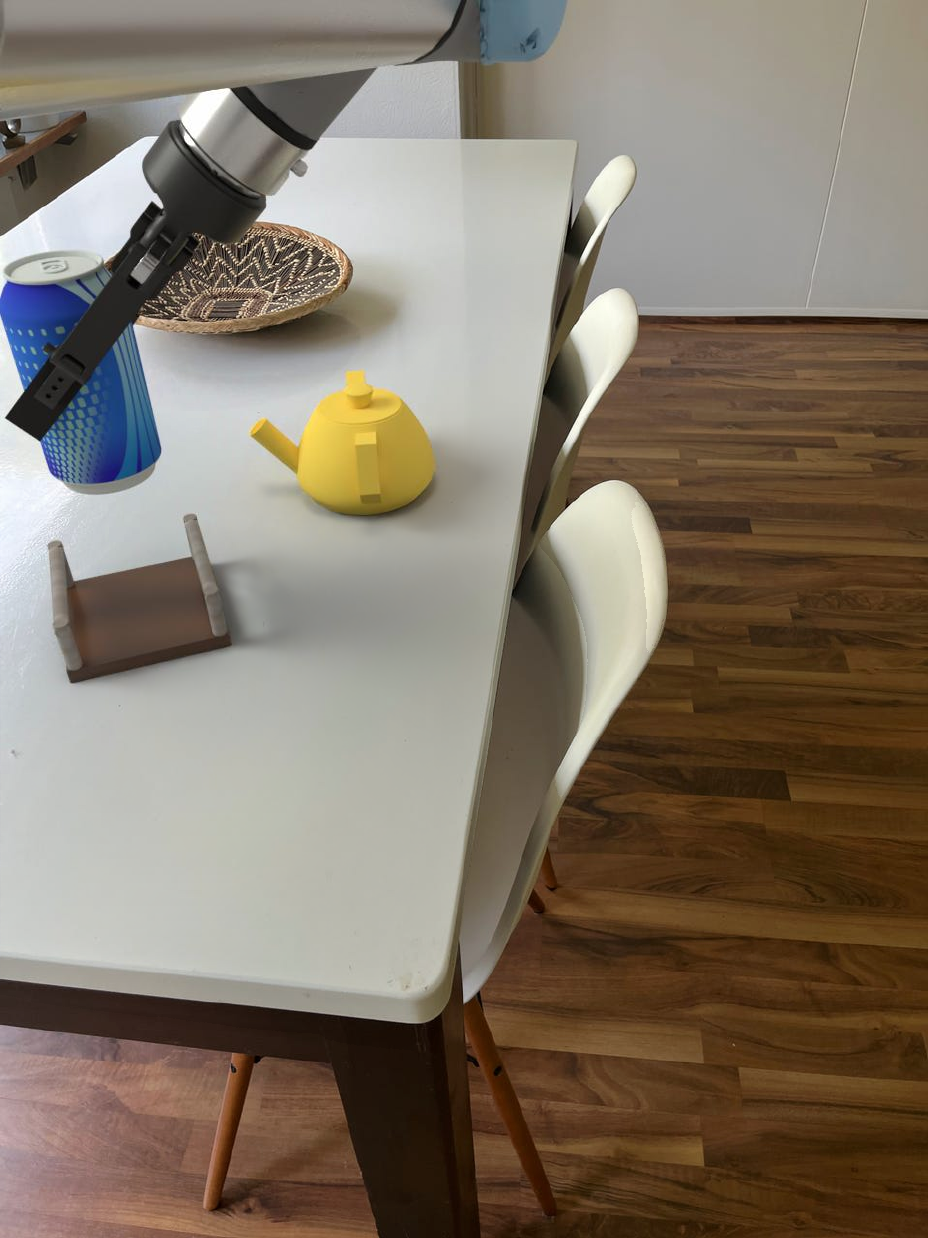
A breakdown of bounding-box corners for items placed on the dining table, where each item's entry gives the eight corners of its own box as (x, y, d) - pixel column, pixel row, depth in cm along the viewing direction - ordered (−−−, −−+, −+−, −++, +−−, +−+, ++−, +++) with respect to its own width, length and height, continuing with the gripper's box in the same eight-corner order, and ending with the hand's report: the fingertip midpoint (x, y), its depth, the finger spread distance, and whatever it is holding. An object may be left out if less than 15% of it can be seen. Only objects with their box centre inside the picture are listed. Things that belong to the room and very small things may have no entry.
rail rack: (232, 645, 83) (220, 591, 79) (70, 684, 79) (51, 629, 76) (207, 563, 92) (196, 512, 89) (63, 594, 89) (45, 541, 86)
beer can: (184, 453, 79) (139, 249, 69) (129, 506, 73) (72, 289, 63) (92, 442, 81) (36, 242, 71) (30, 493, 74) (-40, 280, 65)
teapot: (259, 451, 110) (243, 357, 103) (422, 436, 112) (417, 342, 105) (259, 549, 94) (241, 445, 87) (449, 528, 96) (445, 425, 90)
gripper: (249, 250, 57) (46, 503, 66) (288, 162, 73) (122, 373, 83) (135, 154, 53) (-61, 434, 63) (203, 84, 70) (40, 313, 80)
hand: (43, 399), depth 73 cm, fingers closed on beer can, 8 cm apart
